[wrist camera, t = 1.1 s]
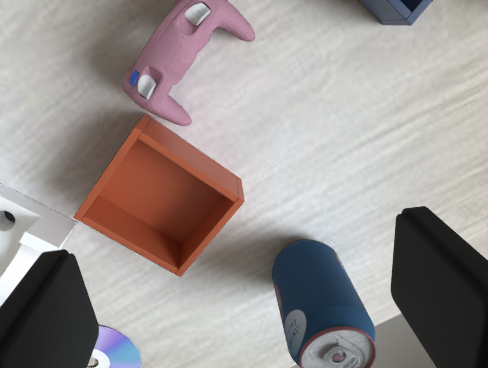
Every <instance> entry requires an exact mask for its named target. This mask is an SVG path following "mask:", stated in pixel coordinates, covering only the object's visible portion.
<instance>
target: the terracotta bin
mask: <svg viewBox="0 0 488 368" xmlns="http://www.w3.org/2000/svg"><path fill="white" fill-rule="evenodd" d="M243 203H244V194H243V188H242V182H241V179H240V178H238V177H237V176H236V175H234V174H233V173H231V172H230V171H228V170H227V169H225V168H224V167H223V166H221V165H220V164H218V163H217V162H215V161H214V160H212V159H211V158H210V157H208V156H207V155H205V154H204V153H202V152H201V151H199V150H198V149H197V148H195V147H194V146H192V145H191V144H189V143H188V142H186V141H185V140H184V139H182V138H181V137H179V136H178V135H176V134H175V133H173V132H172V131H171V130H169V129H168V128H166V127H165V126H163V125H162V124H160V123H159V122H158V121H156V120H155V119H153V118H152V117H150V116H149V115H148V114H145V115H144V116H143V117H142V118H141V120H140V121H139V122H138V123H137V125H136V126H135V127H134V129H133V130H132V131H131V133H130V134H129V136H128V137H127V139H126V140H125V142H124V143H123V145H122V146H121V148H120V149H119V151H118V152H117V154H116V155H115V156H114V158H113V159H112V161H111V162H110V164H109V165H108V167H107V168H106V170H105V171H104V173H103V174H102V176H101V177H100V179H99V180H98V181H97V183H96V184H95V186H94V187H93V189H92V190H91V192H90V193H89V195H88V196H87V198H86V199H85V201H84V202H83V204H82V205H81V206H80V208H79V209H78V211H77V212H76V214H75V215H74V218H75V219H77V220H79V221H80V220H81V222H83V223H84V224H86V225H88V226H90V227H92V228H93V229H95V230H97V231H99V232H100V233H102V234H104V235H106V236H108V237H109V238H111V239H113V240H115V241H117V242H118V243H120V244H122V245H124V246H125V247H127V248H129V249H131V250H133V251H134V252H136V253H138V254H140V255H142V256H143V257H145V258H147V259H149V260H151V261H152V262H154V263H156V264H158V265H159V266H161V267H163V268H165V269H167V270H168V271H170V272H172V273H174V274H176V275H177V276H179V277H181V276H182V275H183V274H184V272H185V271H186V270H187V269H188V268H189V266H190V265H191V264H192V263H193V262H194V261H195V259H196V258H197V257H198V256H199V255H200V253H201V252H202V251H203V250H204V249H205V248H206V246H207V245H208V244H209V243H210V242H211V240H212V239H213V238H214V237H215V236H216V235H217V233H218V232H219V231H220V230H221V229H222V227H223V226H224V225H225V224H226V223H227V222H228V220H229V219H230V218H231V217H232V216H233V214H234V213H235V212H236V211H237V210H238V208H239V207H240V206H241V205H242V204H243Z"/></svg>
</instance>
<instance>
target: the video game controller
mask: <svg viewBox="0 0 488 368" xmlns="http://www.w3.org/2000/svg"><path fill="white" fill-rule="evenodd" d="M216 27H219V28H222V29H224V30H227V31H228V32H230V33H231V34H233V35H235V36H236V37H238V38H239V39H241V40H244V41H253V40H254V38H255V33H254V30H253V28H252V27H251V25H250V24H249V23H248V21H247V20H246V19H245V18H244V17H243V16H242V15H241V14H240V12H239V11H238V10H237V9H236V8H235V7H234V6H233V5H232V4H231V3H229V2H228V1H227V0H177V1H176V3H175V5H174V8H173V9H172V10H171V12H170V13H169V14H168V15H167V16H166V17H165V18H164V20H163V21H162V22H161V24H160V25H159V26H158V28H157V29H156V30H155V32H154V33H153V35H152V36H151V38H150V39H149V41H148V42H147V44H146V46H145V47H144V49H143V51H142V53H141V55H140V56H139V58H138V60H137V62H136V63H135V64H134V65H133V66H132V67H131V68H130V69H129V70H128V72H127V73H126V75H125V78H124V81H123V89H124V91H125V92H126V93H127V94H128V95H129V96H130V97H131V98H132V99H133V100H134V102H135V103H137V104H138V105H140V106H141V107H142V108H144V109H146V110H148V111H150V112H151V113H153V114H155V115H157V116H159V117H161V118H164V119H166V120H168V121H170V122H172V123H175V124H177V125H180V126H187V125H189V124H190V123H191V118H190V116H189V114H188V113H187V112H186V111H185V110H184V109H183V107H182V106H181V105H179V104H178V103H177V102H176V101H175V100H174V99H173V98H171V97H170V96H169V95H168V93H169V91H170V90H171V88H172V86H173V85H175V84H177V83H178V82H179V81H180V80H181V79H182V77H183V76H184V75H185V72H186V71H187V70H188V69H189V68H190V66H191V65H192V63H193V61H194V59H195V57H196V55H197V53H198V52H199V51H200V50H202V49H203V48H204V47H205V45H206V44H207V43H208V41H209V39H210V36H211V33H212V32H213V30H214V29H215V28H216Z"/></svg>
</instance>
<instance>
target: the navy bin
mask: <svg viewBox="0 0 488 368" xmlns="http://www.w3.org/2000/svg"><path fill="white" fill-rule="evenodd" d="M359 1H360V2H361V3H362V4H363V5H364V6H365V7H366V8H367V9H368V10H369V11H370V12H371V13H372V14H373V15H374V16H375V17H376V18H377V19H378V20H379V21H380V22H381V23H382V24H383V25H412V24H413V23H414V22H415V21H416V19H417V18H418V17H419V16H420V15H421V14H422V12H423V11H424V10H425V9H426V8H427V7H428V5H429V4H430V3H431V2H432V1H433V0H359Z"/></svg>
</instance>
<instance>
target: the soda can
mask: <svg viewBox="0 0 488 368" xmlns="http://www.w3.org/2000/svg"><path fill="white" fill-rule="evenodd" d="M272 279H273V284H274V288H275V293H276V297H277V301H278V306H279V310H280V315H281V319H282V324H283V328H284V332H285V337H286V341H287V346H288V350H289V353H290V355H291V357H292V359H293V360H294V361H295V362H296V363H297V364H298V365H299V366H300V367H301V368H371V366H372V365H373V363H374V361H375V358H376V347H375V344H374V341H375V329H374V325H373V323H372V321H371V319H370V317H369V315H368V313H367V311H366V309H365V307H364V305H363V303H362V301H361V300H360V298H359V296H358V294H357V292H356V290H355V288H354V286H353V284H352V282H351V280H350V278H349V277H348V275H347V273H346V271H345V269H344V267H343V265H342V263H341V261H340V259H339V257H338V256H337V254H336V252H335V251H334V250H333V249H332V248H331V247H329V246H328V245H326V244H324V243H321V242H318V241H313V240H300V241H296V242H293V243H291V244H289V245H288V246H286V247H285V248H284V249H283V250H282V251H281V252H280V254H279V255H278V256H277V258H276V259H275V261H274V264H273V267H272Z"/></svg>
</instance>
